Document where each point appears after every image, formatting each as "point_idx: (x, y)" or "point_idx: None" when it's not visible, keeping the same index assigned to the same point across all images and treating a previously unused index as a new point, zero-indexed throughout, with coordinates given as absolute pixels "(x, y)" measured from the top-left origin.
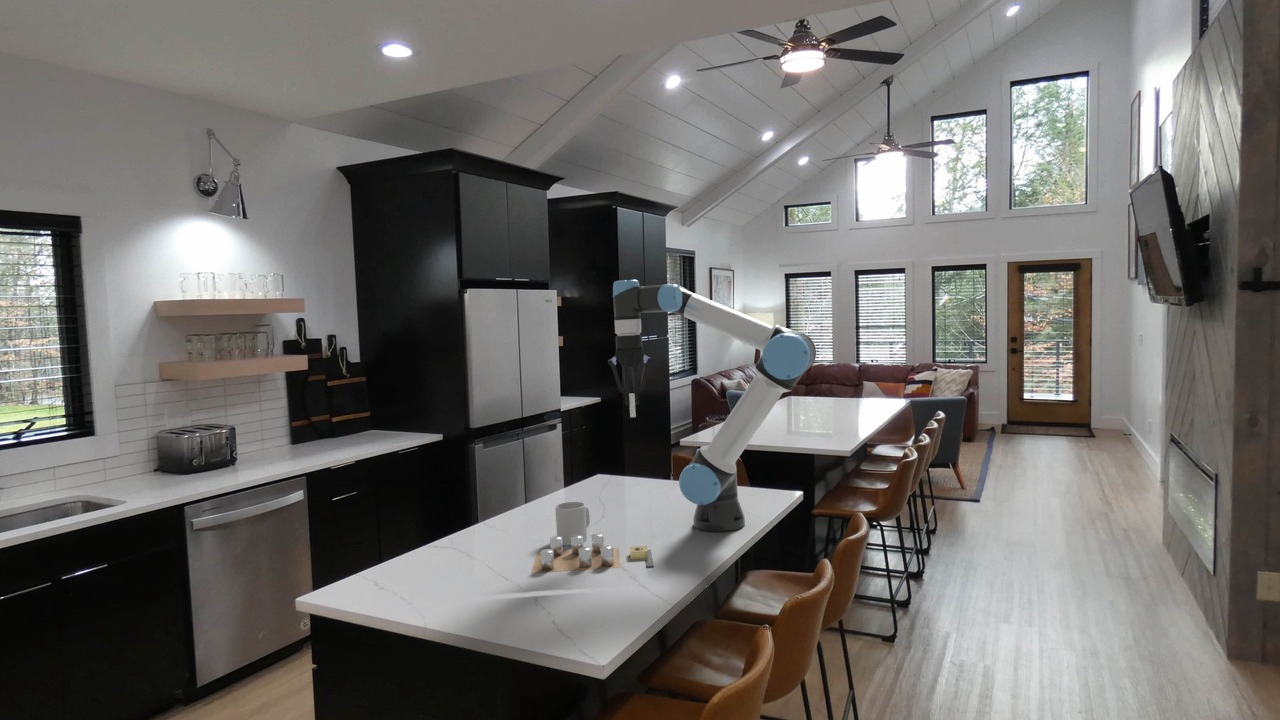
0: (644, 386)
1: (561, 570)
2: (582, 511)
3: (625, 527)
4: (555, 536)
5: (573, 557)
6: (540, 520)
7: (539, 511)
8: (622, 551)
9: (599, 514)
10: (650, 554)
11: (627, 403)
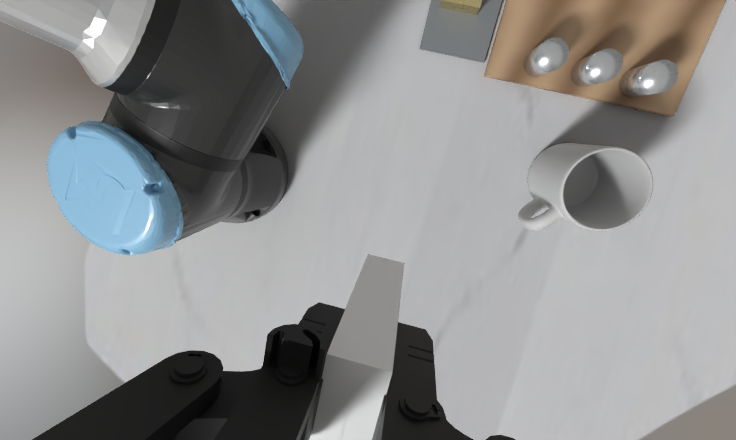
0: (126, 390)
1: None
2: (574, 156)
3: (419, 240)
4: (657, 90)
5: (606, 43)
6: (572, 374)
7: (553, 436)
8: (477, 72)
9: (441, 354)
10: (431, 11)
11: (415, 338)
